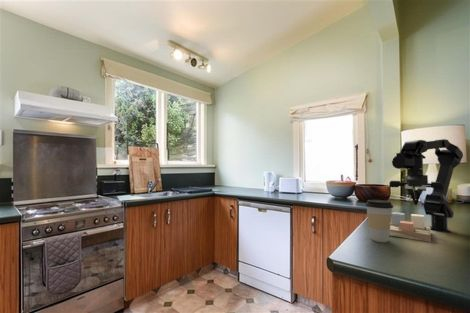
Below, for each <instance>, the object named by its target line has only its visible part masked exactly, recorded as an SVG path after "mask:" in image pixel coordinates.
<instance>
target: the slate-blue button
mask: <svg viewBox="0 0 470 313" xmlns="http://www.w3.org/2000/svg"><path fill="white" fill-rule="evenodd" d="M405 215H406V214H405V213H404V212H396V211H395V212H394V211H393V212H392V211H391V222H392V225H397V226H400V221H406V218H405Z"/></svg>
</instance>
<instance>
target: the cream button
mask: <svg viewBox="0 0 470 313" xmlns="http://www.w3.org/2000/svg"><path fill="white" fill-rule="evenodd" d="M410 222H414V228H421V229H425V227H426V225H425V224H426V223H425V214H416V213H415V214H414V213H411V214H410Z"/></svg>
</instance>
